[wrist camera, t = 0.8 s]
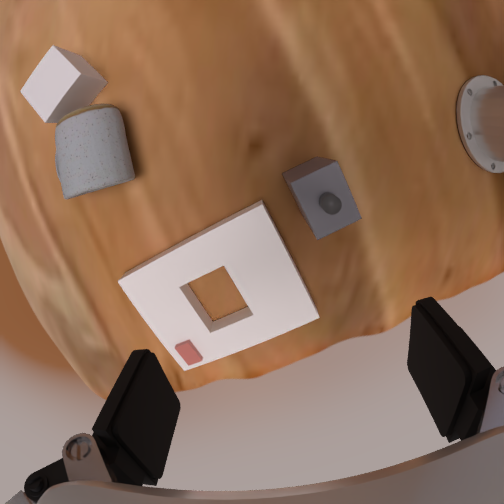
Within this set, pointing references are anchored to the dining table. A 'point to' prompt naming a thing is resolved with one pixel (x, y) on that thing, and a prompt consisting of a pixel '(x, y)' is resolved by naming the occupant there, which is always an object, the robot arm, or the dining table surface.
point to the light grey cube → (62, 84)
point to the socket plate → (243, 275)
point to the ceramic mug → (92, 150)
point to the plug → (322, 195)
